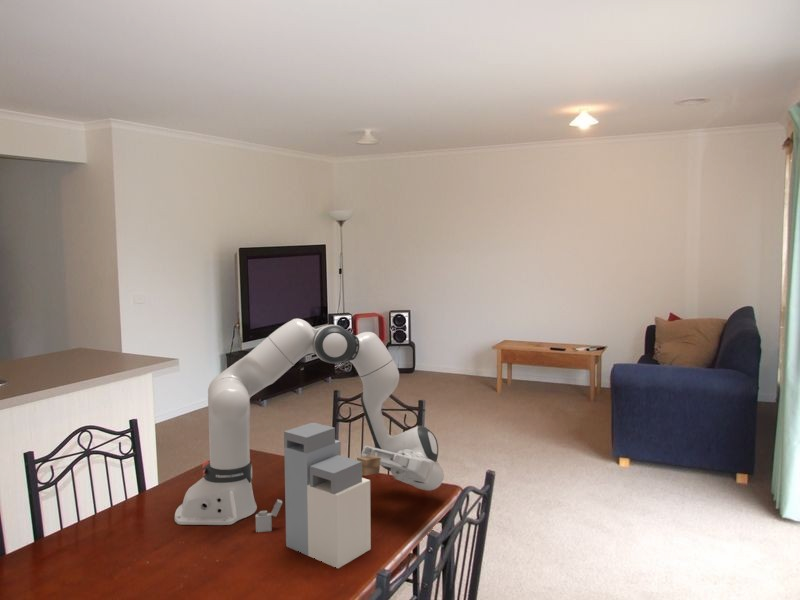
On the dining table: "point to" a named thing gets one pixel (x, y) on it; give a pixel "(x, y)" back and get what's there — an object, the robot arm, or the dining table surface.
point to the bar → (370, 464)
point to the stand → (324, 497)
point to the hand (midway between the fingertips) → (378, 453)
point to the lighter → (267, 518)
